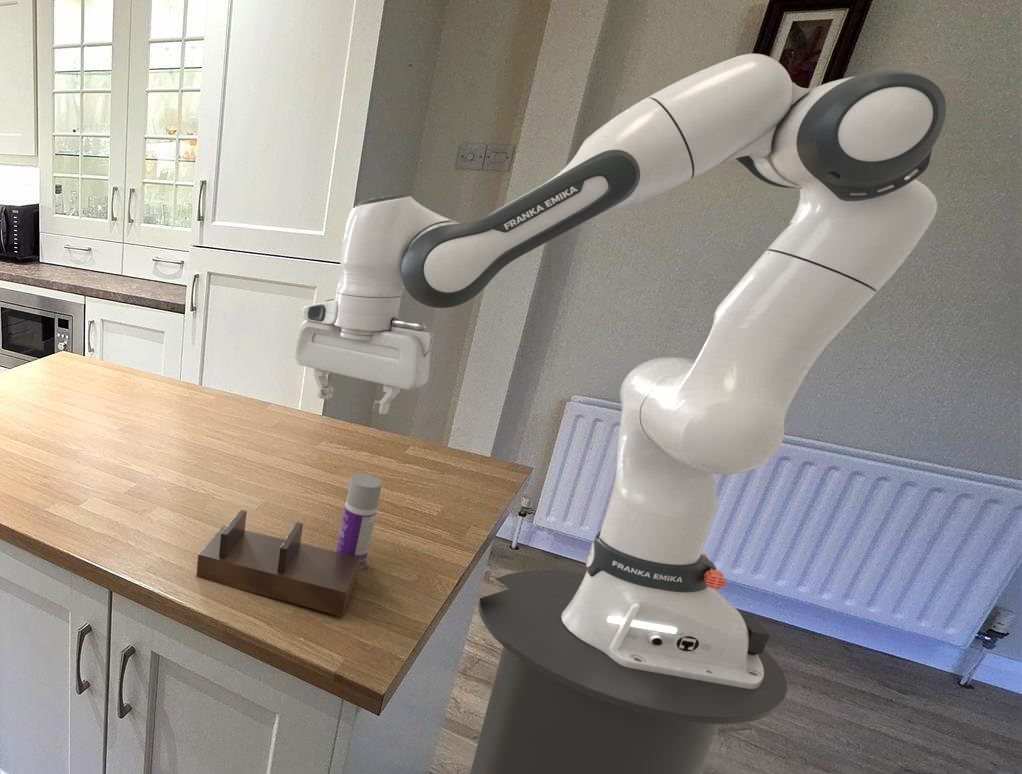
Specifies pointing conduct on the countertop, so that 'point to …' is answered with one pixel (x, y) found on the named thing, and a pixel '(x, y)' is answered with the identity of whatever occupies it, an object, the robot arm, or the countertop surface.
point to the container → (359, 516)
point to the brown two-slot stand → (279, 567)
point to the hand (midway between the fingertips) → (351, 405)
